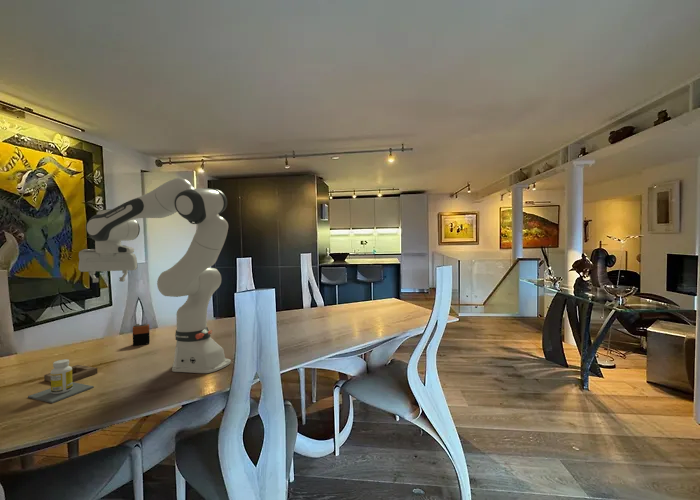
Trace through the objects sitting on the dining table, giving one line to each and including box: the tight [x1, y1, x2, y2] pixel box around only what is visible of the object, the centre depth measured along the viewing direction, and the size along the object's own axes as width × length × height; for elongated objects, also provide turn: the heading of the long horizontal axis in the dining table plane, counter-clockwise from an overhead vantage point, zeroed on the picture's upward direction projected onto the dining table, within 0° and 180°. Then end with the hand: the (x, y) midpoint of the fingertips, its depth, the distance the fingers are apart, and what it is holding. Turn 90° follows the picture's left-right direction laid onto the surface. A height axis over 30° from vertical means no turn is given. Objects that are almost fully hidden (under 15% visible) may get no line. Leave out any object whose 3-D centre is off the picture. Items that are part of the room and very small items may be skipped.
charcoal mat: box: [27, 381, 94, 404], centre depth 111 cm, size 12×12×1 cm
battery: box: [132, 322, 151, 347], centre depth 166 cm, size 4×7×10 cm, turn 119°
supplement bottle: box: [50, 358, 73, 394], centre depth 111 cm, size 5×5×10 cm
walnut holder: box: [43, 364, 99, 383], centre depth 124 cm, size 11×11×2 cm
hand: (109, 281), depth 141 cm, fingers open, 8 cm apart
